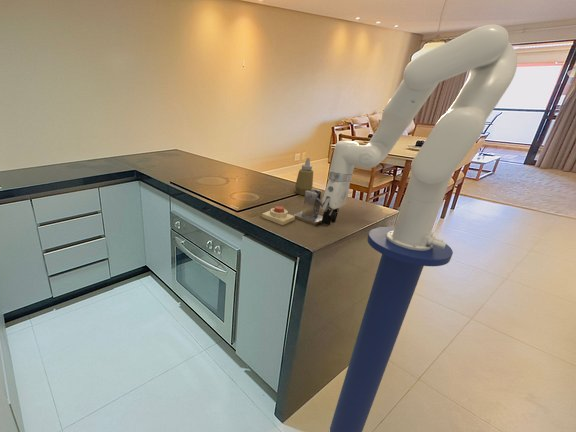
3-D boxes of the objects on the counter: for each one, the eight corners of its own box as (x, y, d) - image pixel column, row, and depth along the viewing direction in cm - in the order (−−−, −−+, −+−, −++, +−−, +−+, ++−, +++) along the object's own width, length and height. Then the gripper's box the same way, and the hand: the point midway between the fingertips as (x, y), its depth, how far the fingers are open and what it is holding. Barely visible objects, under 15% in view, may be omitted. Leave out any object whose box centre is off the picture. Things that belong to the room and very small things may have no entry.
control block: (294, 220, 118) (295, 212, 116) (282, 225, 113) (283, 217, 112) (273, 212, 125) (274, 204, 123) (261, 217, 120) (262, 209, 119)
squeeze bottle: (290, 192, 150) (295, 157, 142) (303, 190, 153) (308, 155, 145) (301, 197, 143) (308, 160, 136) (314, 195, 146) (321, 159, 139)
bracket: (326, 220, 118) (331, 192, 113) (315, 225, 113) (321, 196, 108) (303, 212, 125) (308, 186, 120) (292, 217, 120) (297, 189, 116)
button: (285, 211, 117) (285, 207, 117) (279, 214, 115) (280, 209, 115) (277, 209, 120) (278, 205, 119) (272, 211, 118) (272, 207, 117)
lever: (333, 219, 113) (339, 214, 110) (329, 221, 111) (335, 216, 109) (310, 194, 118) (315, 189, 115) (306, 196, 116) (311, 190, 114)
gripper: (338, 183, 98) (326, 232, 106) (360, 175, 108) (348, 220, 115) (317, 177, 103) (307, 224, 111) (340, 170, 113) (329, 214, 120)
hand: (328, 222), depth 113 cm, fingers closed on lever, 3 cm apart
